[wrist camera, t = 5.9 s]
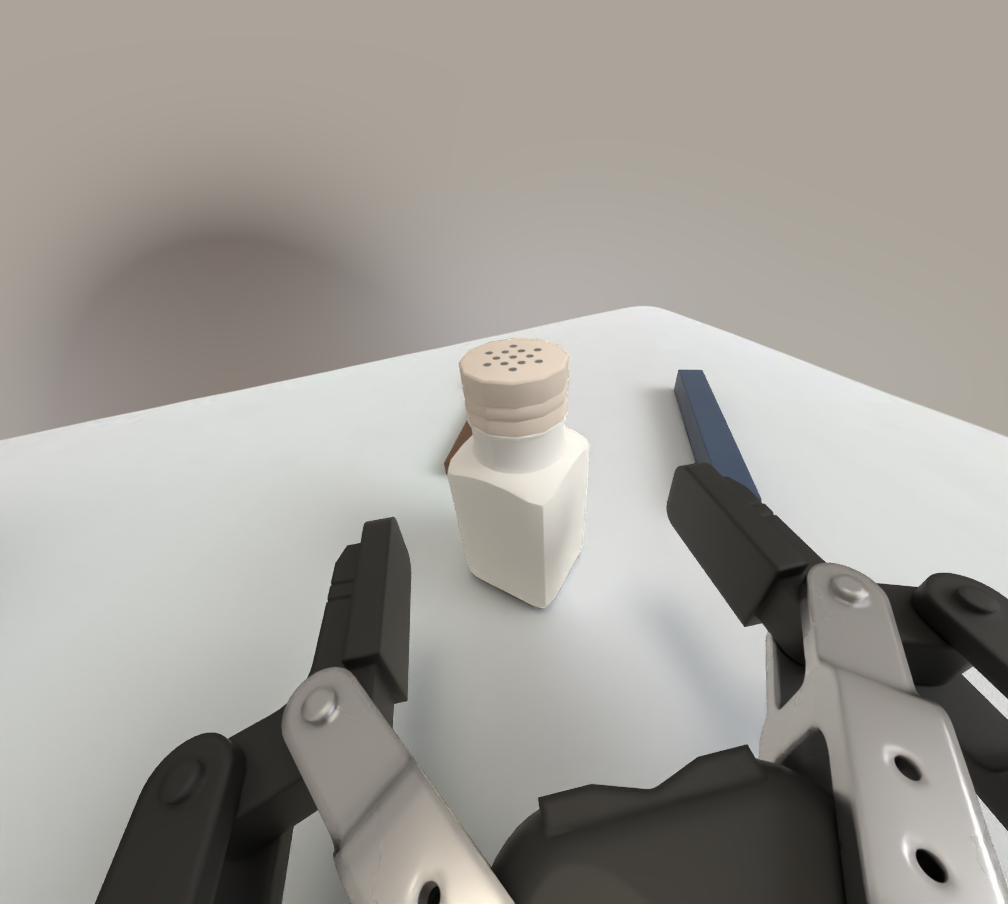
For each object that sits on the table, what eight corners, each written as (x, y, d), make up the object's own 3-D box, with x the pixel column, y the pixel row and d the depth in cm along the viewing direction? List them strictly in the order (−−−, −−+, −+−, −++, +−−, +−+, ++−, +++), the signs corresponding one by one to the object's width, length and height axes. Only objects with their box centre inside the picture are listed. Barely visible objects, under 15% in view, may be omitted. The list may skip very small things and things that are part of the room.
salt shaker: (587, 546, 17) (603, 341, 11) (547, 620, 14) (543, 402, 9) (511, 516, 19) (493, 326, 13) (464, 577, 16) (415, 373, 11)
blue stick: (712, 521, 18) (722, 496, 17) (673, 389, 28) (678, 369, 27) (751, 524, 17) (762, 499, 16) (697, 389, 27) (702, 369, 26)
